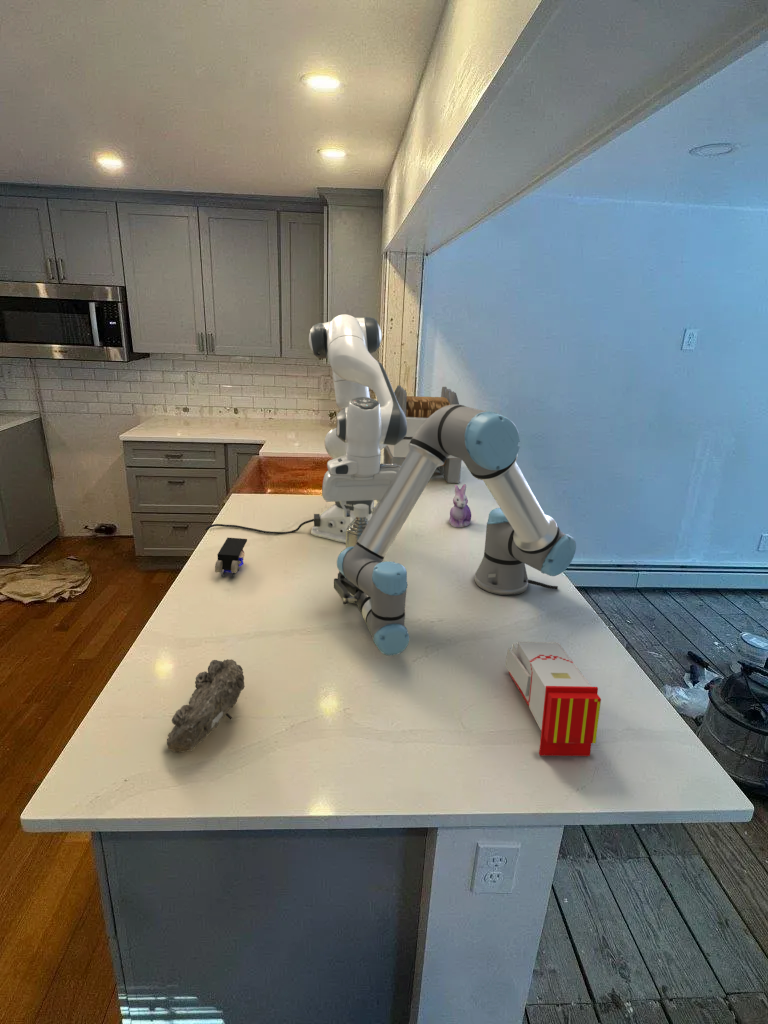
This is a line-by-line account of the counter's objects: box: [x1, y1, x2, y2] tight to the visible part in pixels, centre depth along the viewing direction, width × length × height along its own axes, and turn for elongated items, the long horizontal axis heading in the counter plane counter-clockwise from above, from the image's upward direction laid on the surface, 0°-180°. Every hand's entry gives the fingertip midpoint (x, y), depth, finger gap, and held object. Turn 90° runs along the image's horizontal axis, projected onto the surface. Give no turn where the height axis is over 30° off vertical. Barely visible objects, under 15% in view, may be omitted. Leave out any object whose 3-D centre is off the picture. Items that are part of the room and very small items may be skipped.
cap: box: [354, 504, 369, 518], centre depth 147 cm, size 4×4×2 cm
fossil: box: [166, 658, 245, 754], centre depth 106 cm, size 22×10×15 cm
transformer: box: [382, 384, 463, 484], centre depth 268 cm, size 34×33×41 cm
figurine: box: [448, 483, 472, 528], centre depth 209 cm, size 9×10×15 cm
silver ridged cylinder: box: [345, 517, 369, 605], centre depth 151 cm, size 8×8×26 cm
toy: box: [505, 641, 602, 757], centre depth 113 cm, size 12×13×30 cm
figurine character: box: [214, 537, 248, 578], centre depth 166 cm, size 7×8×15 cm
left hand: (361, 515), depth 147 cm, fingers open, 6 cm apart
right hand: (355, 568), depth 157 cm, fingers closed on silver ridged cylinder, 8 cm apart
